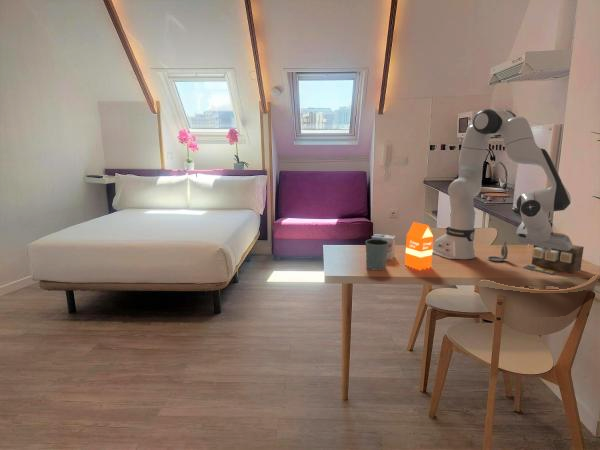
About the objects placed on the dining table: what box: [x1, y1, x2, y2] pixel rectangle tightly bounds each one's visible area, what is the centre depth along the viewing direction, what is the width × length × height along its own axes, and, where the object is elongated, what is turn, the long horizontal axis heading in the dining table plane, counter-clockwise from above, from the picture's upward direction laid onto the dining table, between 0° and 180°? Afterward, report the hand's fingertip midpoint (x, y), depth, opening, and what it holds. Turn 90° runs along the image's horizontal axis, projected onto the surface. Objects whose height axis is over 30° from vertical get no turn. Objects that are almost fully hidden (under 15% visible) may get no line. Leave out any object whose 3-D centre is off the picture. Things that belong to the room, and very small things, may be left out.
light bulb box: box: [371, 233, 396, 261], centre depth 200 cm, size 11×7×11 cm, turn 68°
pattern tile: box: [522, 264, 558, 276], centre depth 181 cm, size 12×5×1 cm, turn 38°
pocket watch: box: [487, 240, 508, 263], centre depth 194 cm, size 8×8×10 cm
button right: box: [560, 251, 574, 263], centre depth 179 cm, size 4×7×4 cm, turn 128°
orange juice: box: [404, 221, 434, 271], centre depth 184 cm, size 8×9×20 cm
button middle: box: [545, 249, 560, 261], centre depth 182 cm, size 4×7×4 cm, turn 128°
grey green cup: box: [365, 238, 388, 271], centre depth 184 cm, size 10×10×12 cm
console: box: [531, 244, 585, 274], centre depth 185 cm, size 17×8×10 cm, turn 38°
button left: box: [531, 246, 546, 259], centre depth 186 cm, size 4×7×4 cm, turn 128°
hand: (547, 250), depth 176 cm, fingers closed
